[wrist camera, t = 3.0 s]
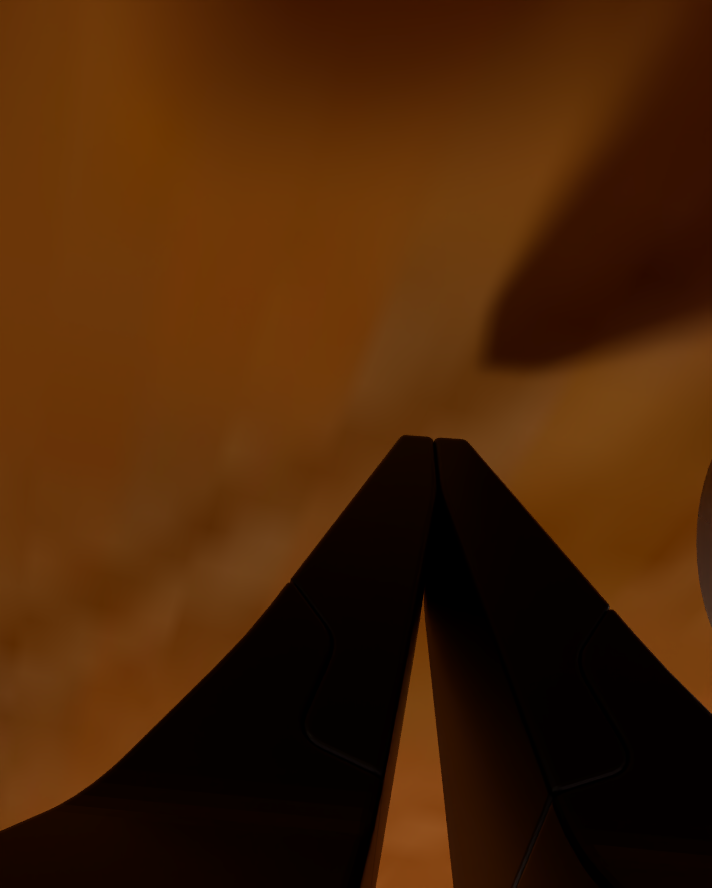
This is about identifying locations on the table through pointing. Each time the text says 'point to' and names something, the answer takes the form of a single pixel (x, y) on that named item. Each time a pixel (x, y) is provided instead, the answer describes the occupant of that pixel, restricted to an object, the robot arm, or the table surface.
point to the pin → (705, 543)
